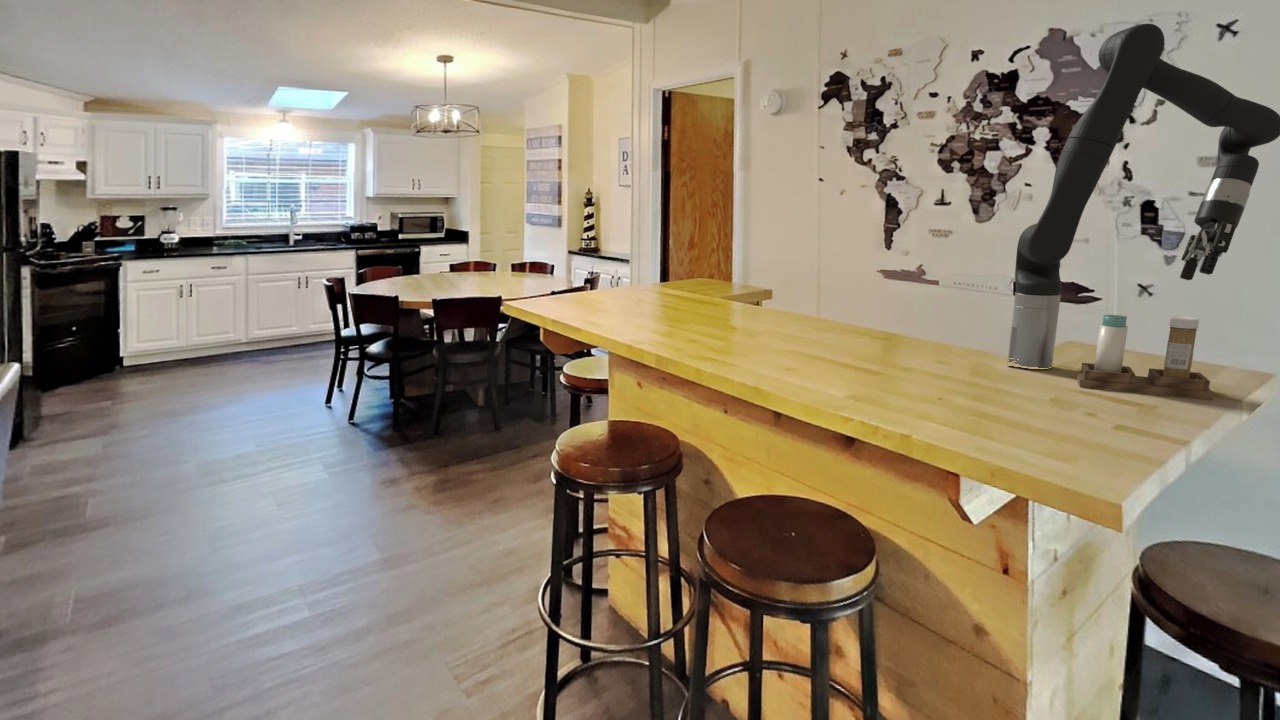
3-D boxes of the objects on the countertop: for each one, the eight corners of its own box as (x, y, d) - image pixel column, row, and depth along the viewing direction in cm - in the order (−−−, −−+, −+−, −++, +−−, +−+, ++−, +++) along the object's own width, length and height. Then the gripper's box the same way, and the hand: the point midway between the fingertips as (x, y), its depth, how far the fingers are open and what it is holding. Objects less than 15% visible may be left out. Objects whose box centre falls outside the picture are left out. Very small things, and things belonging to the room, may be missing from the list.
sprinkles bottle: (1192, 383, 142) (1203, 318, 139) (1183, 386, 140) (1194, 320, 137) (1166, 379, 146) (1176, 315, 143) (1156, 382, 143) (1166, 317, 141)
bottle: (1094, 378, 147) (1102, 316, 144) (1092, 373, 151) (1100, 313, 148) (1121, 381, 145) (1130, 318, 142) (1118, 376, 149) (1127, 315, 146)
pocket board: (1079, 387, 146) (1081, 370, 145) (1076, 377, 155) (1078, 361, 154) (1212, 400, 136) (1215, 382, 135) (1200, 388, 145) (1203, 372, 144)
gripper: (1187, 207, 158) (1161, 276, 159) (1220, 191, 145) (1192, 266, 146) (1224, 217, 157) (1197, 286, 157) (1262, 200, 143) (1232, 276, 144)
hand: (1195, 276), depth 152 cm, fingers open, 8 cm apart
